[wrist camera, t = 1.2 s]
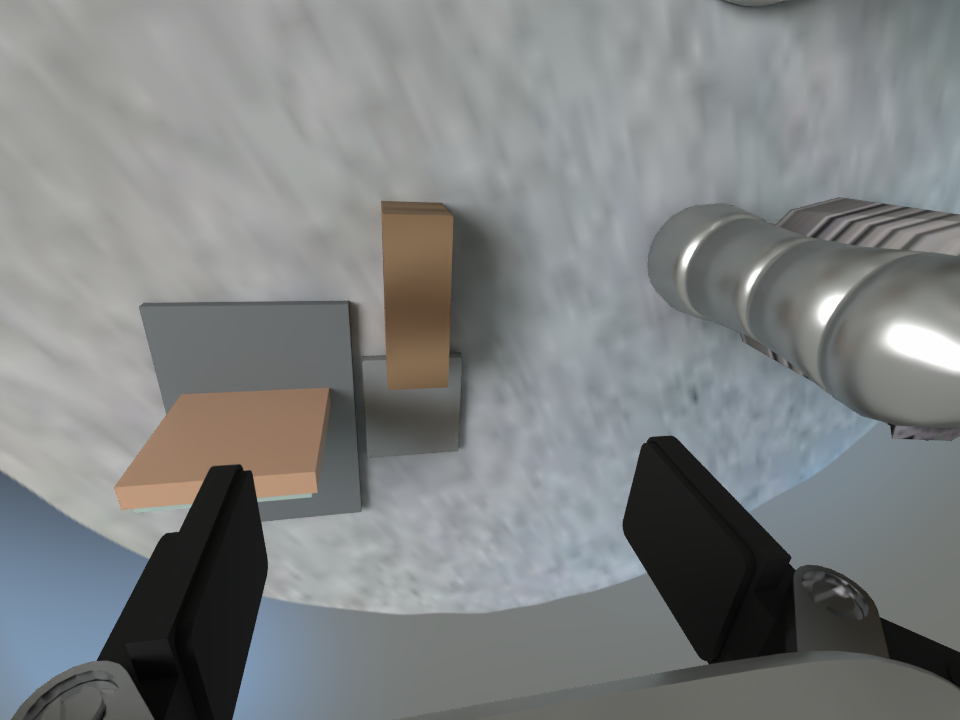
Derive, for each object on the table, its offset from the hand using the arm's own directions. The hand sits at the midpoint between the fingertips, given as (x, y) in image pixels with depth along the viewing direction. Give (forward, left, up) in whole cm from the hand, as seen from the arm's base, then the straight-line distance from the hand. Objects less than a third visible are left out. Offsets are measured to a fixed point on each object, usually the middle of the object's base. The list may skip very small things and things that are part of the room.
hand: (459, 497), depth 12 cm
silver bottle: (-17, -2, -18) cm, 25 cm away
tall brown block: (0, +4, -18) cm, 19 cm away
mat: (+9, +9, -18) cm, 22 cm away
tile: (+9, +7, -18) cm, 21 cm away
